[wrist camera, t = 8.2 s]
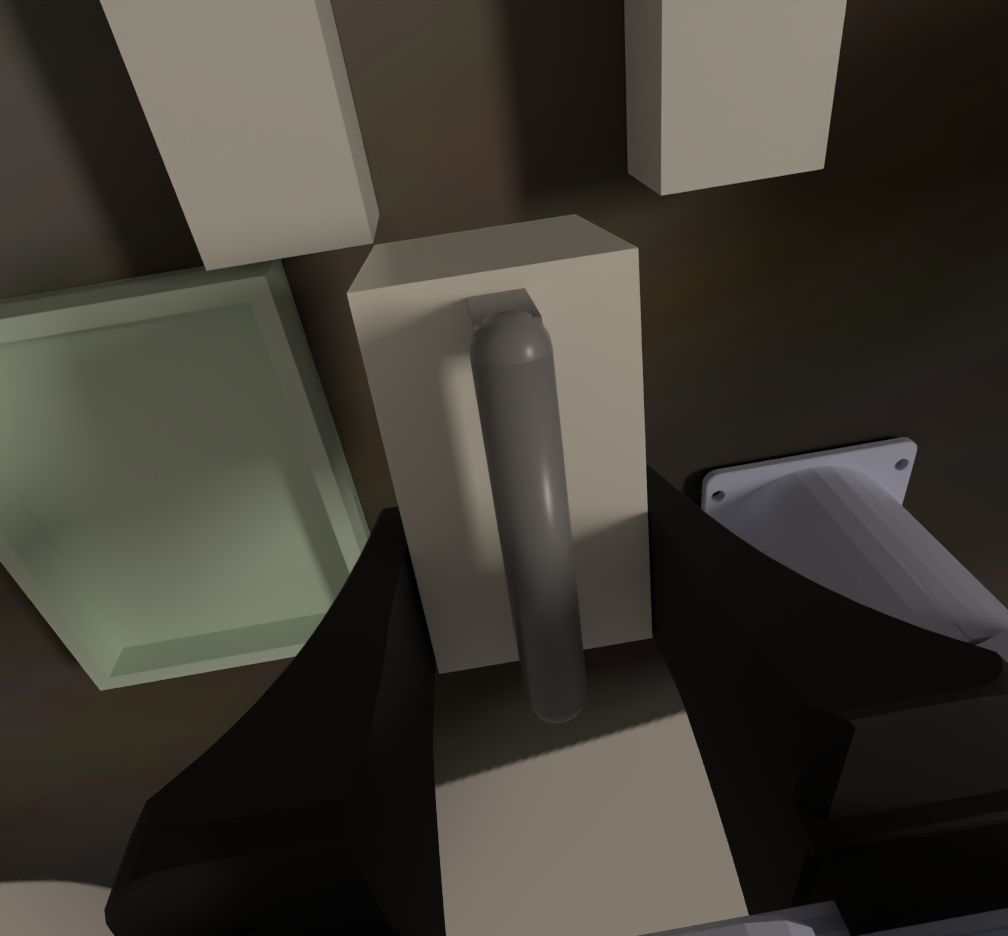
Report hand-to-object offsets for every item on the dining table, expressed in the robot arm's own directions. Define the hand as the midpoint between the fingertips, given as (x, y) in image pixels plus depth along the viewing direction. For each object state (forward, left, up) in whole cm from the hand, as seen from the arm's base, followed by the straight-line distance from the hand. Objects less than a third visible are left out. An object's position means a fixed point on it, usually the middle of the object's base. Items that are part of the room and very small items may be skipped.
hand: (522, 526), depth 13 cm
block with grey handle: (+2, 0, -3) cm, 3 cm away
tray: (-3, +11, -9) cm, 14 cm away
